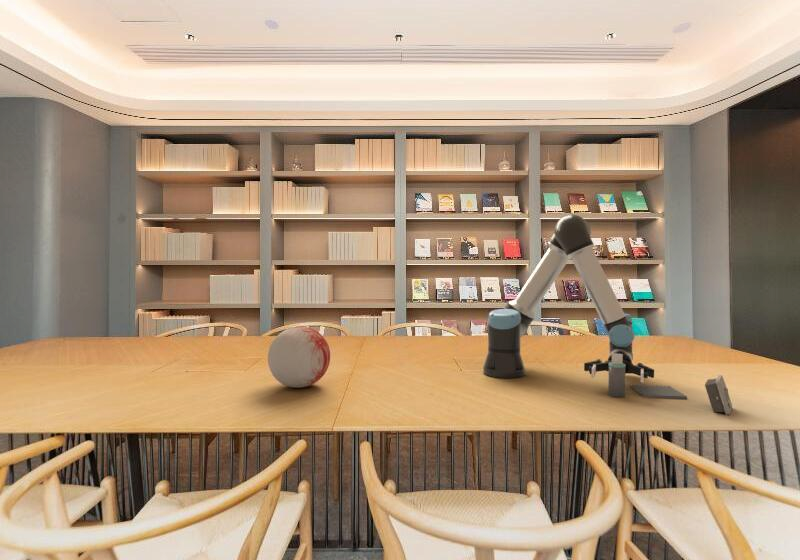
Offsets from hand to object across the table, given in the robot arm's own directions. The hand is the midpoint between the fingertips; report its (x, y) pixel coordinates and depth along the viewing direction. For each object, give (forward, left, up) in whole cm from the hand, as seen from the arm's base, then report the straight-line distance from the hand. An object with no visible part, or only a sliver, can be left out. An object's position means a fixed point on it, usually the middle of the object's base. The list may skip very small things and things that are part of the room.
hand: (616, 375), depth 143 cm
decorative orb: (-100, 0, -7) cm, 101 cm away
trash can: (+1, +3, -7) cm, 8 cm away
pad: (+15, +8, -7) cm, 18 cm away
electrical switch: (+25, -8, -7) cm, 27 cm away
